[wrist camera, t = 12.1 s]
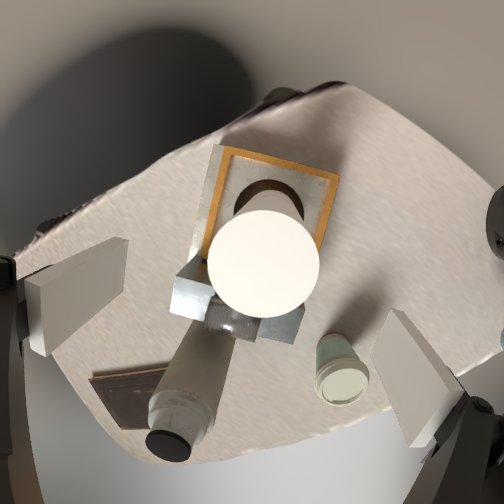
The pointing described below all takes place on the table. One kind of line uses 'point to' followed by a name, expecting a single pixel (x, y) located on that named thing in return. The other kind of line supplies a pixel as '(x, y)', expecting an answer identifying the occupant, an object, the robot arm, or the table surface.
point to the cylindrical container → (264, 258)
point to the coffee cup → (339, 372)
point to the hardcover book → (128, 396)
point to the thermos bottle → (189, 393)
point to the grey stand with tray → (222, 210)
